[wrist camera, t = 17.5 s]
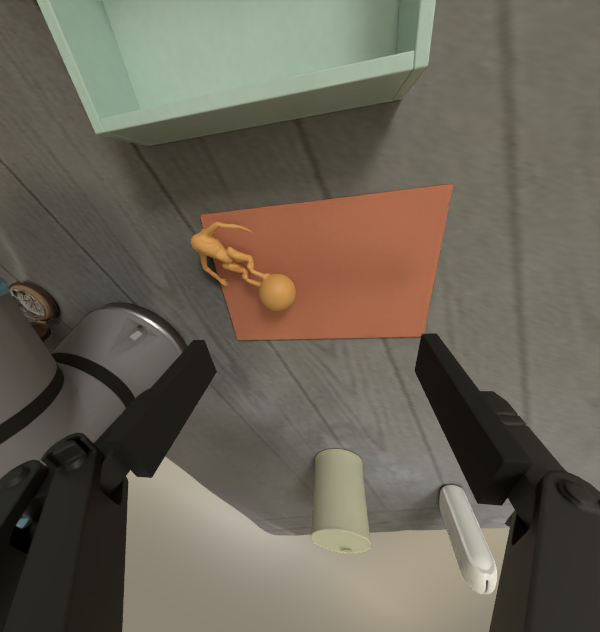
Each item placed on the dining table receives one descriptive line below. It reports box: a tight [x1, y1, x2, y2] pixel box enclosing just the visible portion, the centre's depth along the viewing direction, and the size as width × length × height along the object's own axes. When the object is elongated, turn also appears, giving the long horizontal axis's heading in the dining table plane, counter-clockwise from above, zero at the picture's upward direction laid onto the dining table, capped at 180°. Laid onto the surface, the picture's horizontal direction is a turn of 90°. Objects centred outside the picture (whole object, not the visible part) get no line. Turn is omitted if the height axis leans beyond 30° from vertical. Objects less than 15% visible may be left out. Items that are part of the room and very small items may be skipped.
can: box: [311, 449, 371, 554], centre depth 38 cm, size 9×9×12 cm
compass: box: [9, 281, 58, 342], centre depth 29 cm, size 8×8×7 cm
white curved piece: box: [439, 485, 497, 595], centre depth 39 cm, size 10×4×12 cm, turn 15°
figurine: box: [191, 222, 296, 311], centre depth 23 cm, size 8×6×12 cm
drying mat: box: [200, 184, 453, 340], centre depth 25 cm, size 24×16×1 cm, turn 97°
